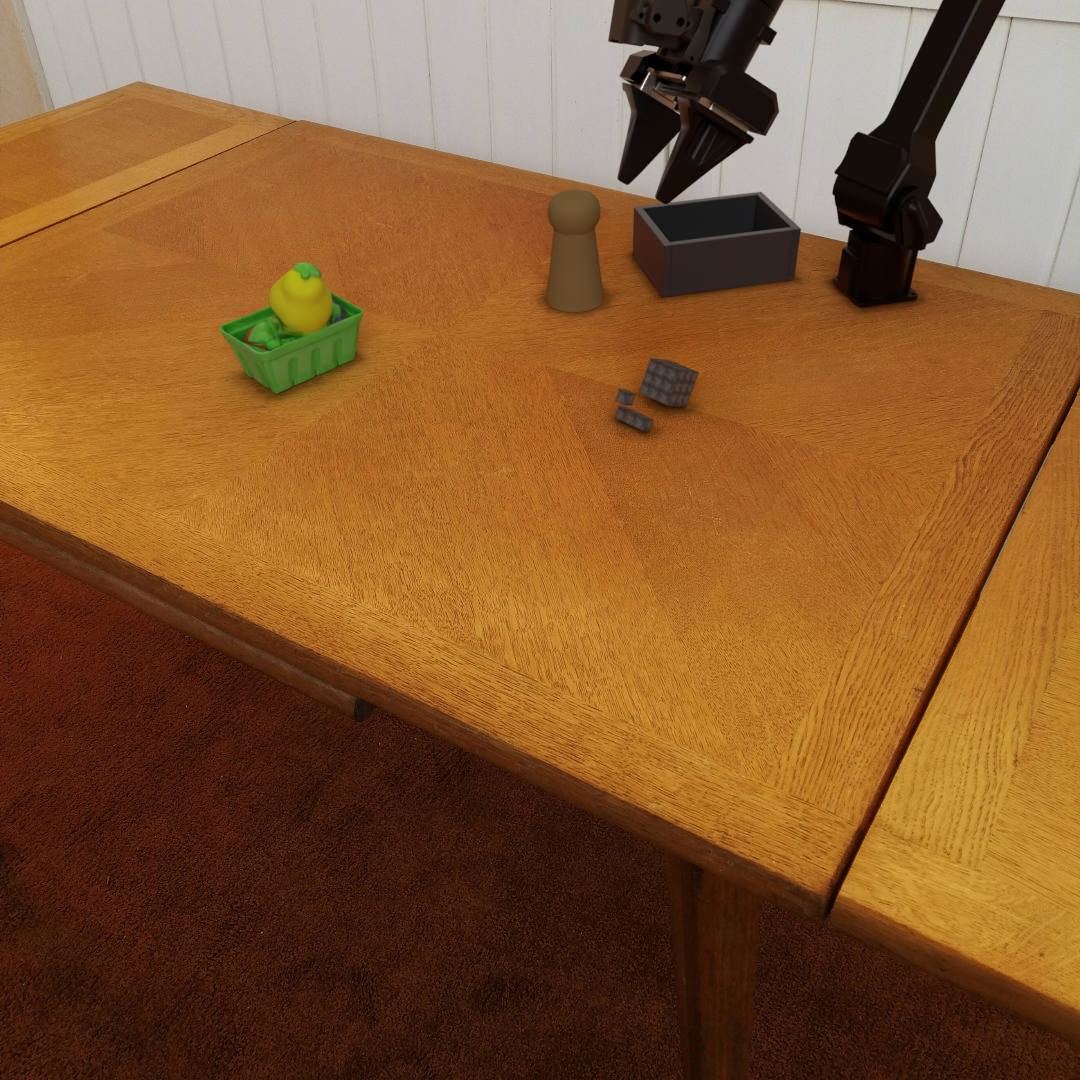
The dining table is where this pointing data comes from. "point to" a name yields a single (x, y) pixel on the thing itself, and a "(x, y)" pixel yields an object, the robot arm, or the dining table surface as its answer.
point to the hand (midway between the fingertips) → (640, 191)
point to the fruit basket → (295, 331)
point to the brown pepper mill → (574, 252)
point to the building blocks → (658, 390)
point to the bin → (714, 243)
